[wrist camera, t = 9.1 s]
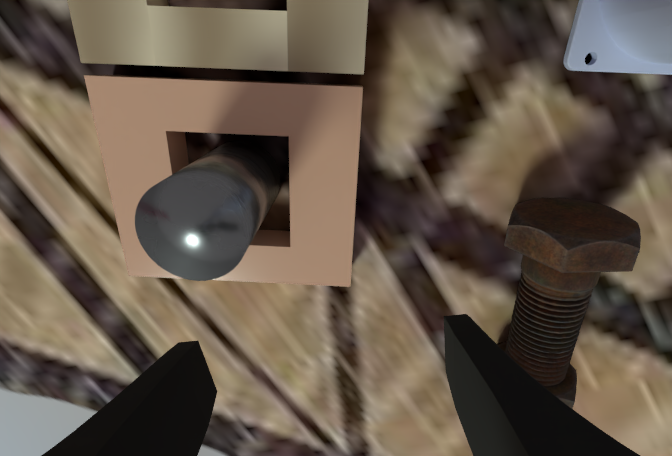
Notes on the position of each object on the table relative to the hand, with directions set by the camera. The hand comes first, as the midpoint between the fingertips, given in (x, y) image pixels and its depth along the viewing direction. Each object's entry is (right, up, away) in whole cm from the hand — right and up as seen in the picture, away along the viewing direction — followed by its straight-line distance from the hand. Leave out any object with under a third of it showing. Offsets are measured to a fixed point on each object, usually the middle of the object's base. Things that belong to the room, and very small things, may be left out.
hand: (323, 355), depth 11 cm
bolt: (+12, -1, +12) cm, 17 cm away
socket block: (-5, +6, +9) cm, 12 cm away
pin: (-5, +6, +9) cm, 12 cm away
